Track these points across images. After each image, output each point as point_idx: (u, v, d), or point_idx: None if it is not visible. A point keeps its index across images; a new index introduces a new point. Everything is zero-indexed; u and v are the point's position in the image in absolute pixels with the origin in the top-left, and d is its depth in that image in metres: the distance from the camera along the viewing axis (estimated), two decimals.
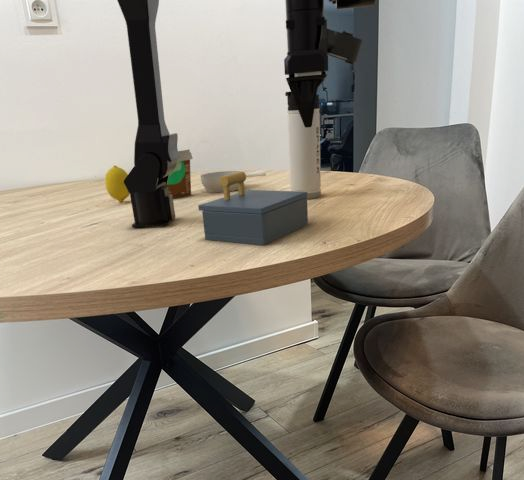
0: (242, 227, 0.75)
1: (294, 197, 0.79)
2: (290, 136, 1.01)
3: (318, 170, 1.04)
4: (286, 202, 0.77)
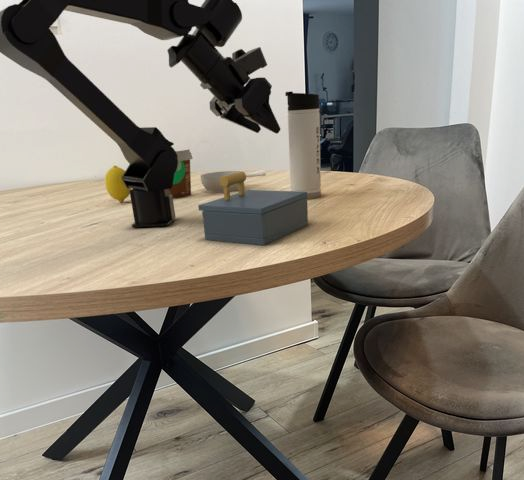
0: (242, 227, 0.75)
1: (294, 197, 0.79)
2: (290, 136, 1.01)
3: (318, 170, 1.04)
4: (286, 202, 0.77)
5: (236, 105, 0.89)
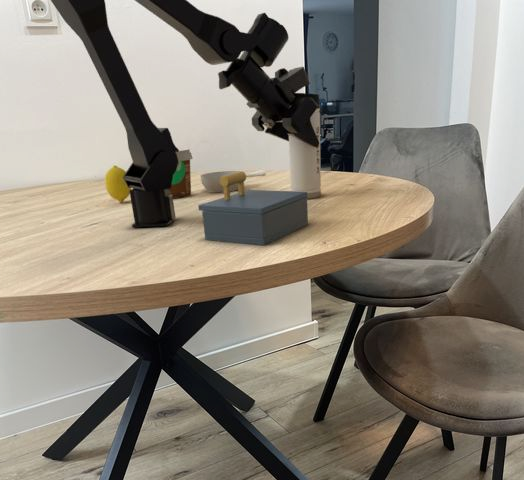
0: (242, 227, 0.75)
1: (294, 197, 0.79)
2: (290, 136, 1.01)
3: (318, 170, 1.04)
4: (286, 202, 0.77)
5: (284, 123, 0.94)
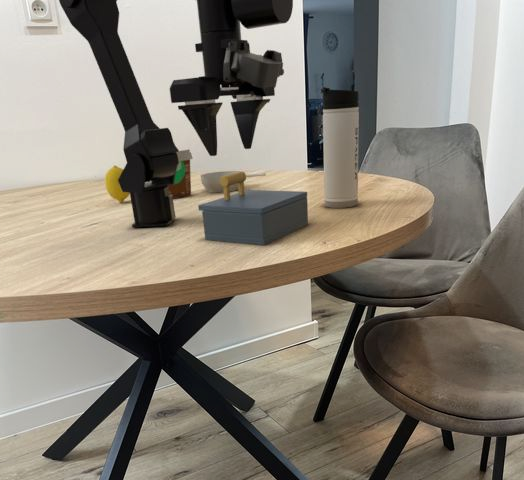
0: (242, 227, 0.75)
1: (294, 197, 0.79)
2: (325, 138, 0.91)
3: (356, 176, 0.93)
4: (286, 202, 0.77)
5: None
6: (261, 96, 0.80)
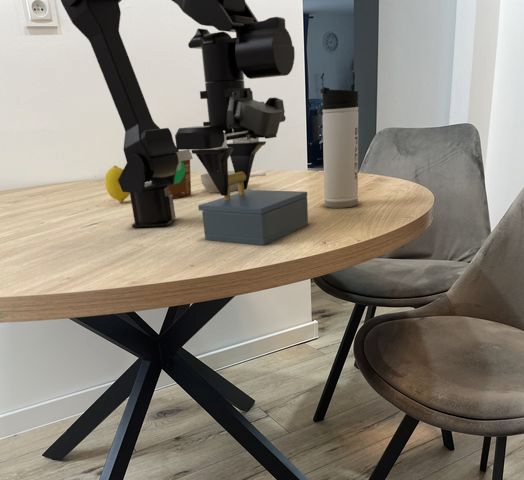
0: (242, 227, 0.75)
1: (294, 197, 0.79)
2: (325, 138, 0.91)
3: (356, 175, 0.93)
4: (286, 202, 0.77)
5: None
6: None
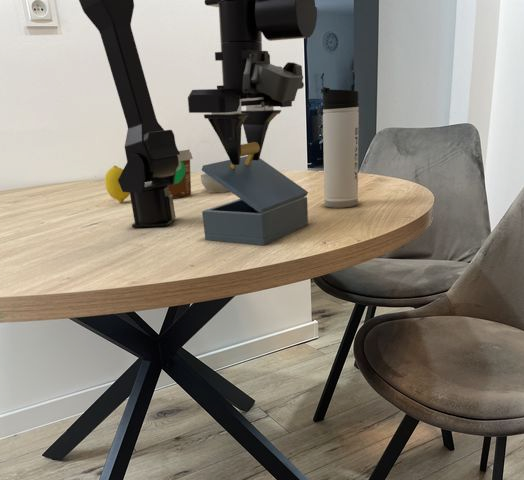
0: (242, 227, 0.75)
1: (295, 197, 0.79)
2: (325, 138, 0.91)
3: (356, 175, 0.93)
4: (286, 202, 0.77)
5: None
6: None
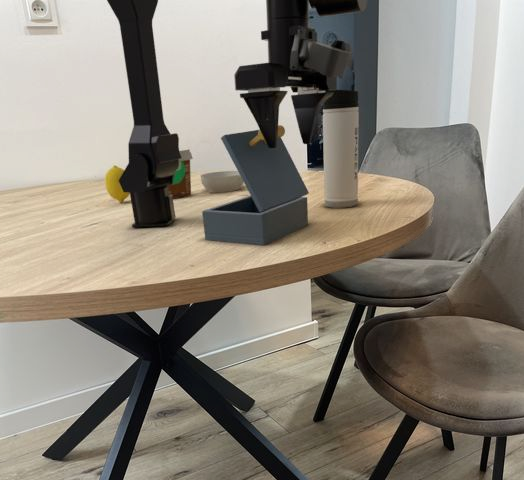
0: (242, 227, 0.75)
1: (295, 198, 0.79)
2: (325, 138, 0.91)
3: (356, 175, 0.93)
4: (285, 202, 0.77)
5: None
6: (322, 90, 0.77)
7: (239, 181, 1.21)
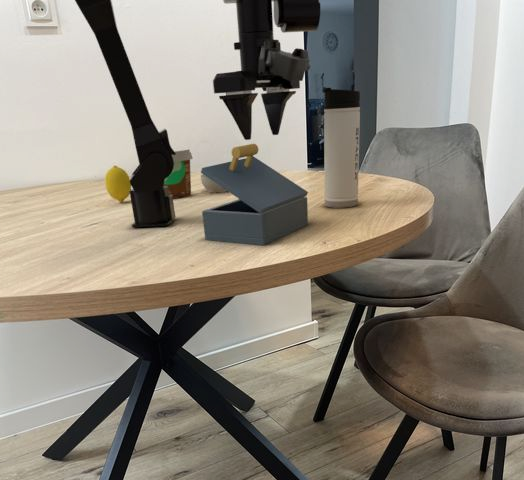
0: (242, 227, 0.75)
1: (295, 197, 0.79)
2: (326, 138, 0.91)
3: (356, 176, 0.93)
4: (286, 202, 0.77)
5: None
6: (288, 88, 0.92)
7: None
